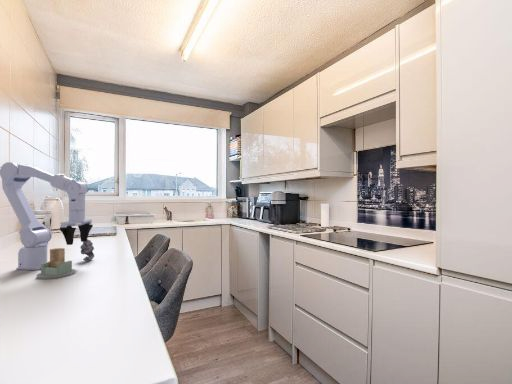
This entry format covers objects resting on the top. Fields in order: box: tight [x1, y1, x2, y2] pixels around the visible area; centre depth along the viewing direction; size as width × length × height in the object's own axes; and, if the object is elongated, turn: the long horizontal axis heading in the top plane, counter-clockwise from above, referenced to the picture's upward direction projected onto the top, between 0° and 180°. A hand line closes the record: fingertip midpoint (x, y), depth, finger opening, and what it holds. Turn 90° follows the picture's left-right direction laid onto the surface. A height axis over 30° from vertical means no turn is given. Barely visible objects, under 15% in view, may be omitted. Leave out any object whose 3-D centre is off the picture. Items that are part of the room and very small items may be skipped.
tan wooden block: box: [49, 247, 66, 268], centre depth 106 cm, size 4×2×9 cm, turn 82°
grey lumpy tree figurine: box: [79, 238, 95, 262], centre depth 128 cm, size 5×5×10 cm
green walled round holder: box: [36, 260, 76, 280], centre depth 106 cm, size 12×12×5 cm
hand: (76, 243), depth 117 cm, fingers open, 7 cm apart
